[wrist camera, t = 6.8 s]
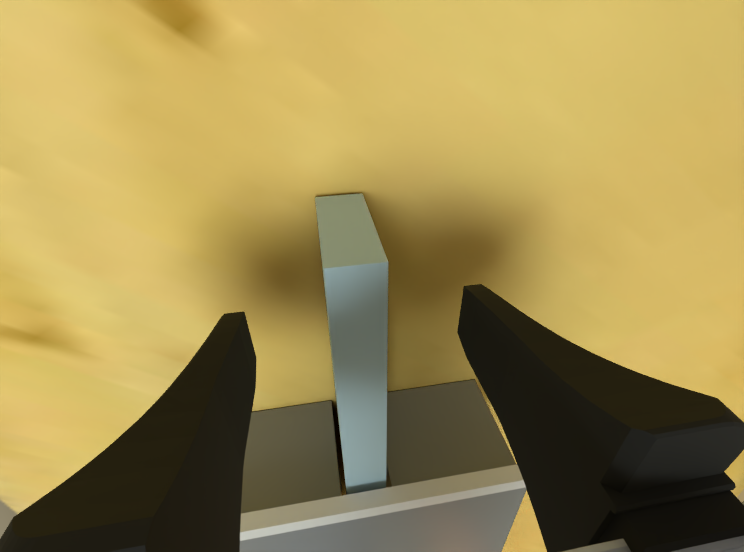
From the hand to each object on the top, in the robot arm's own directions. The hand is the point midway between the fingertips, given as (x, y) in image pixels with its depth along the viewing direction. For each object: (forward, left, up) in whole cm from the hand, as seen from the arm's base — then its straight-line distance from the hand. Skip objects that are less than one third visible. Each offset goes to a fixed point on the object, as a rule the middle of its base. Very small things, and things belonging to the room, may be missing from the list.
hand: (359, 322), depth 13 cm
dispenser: (-17, 0, -6) cm, 18 cm away
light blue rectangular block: (-5, 0, -6) cm, 8 cm away
